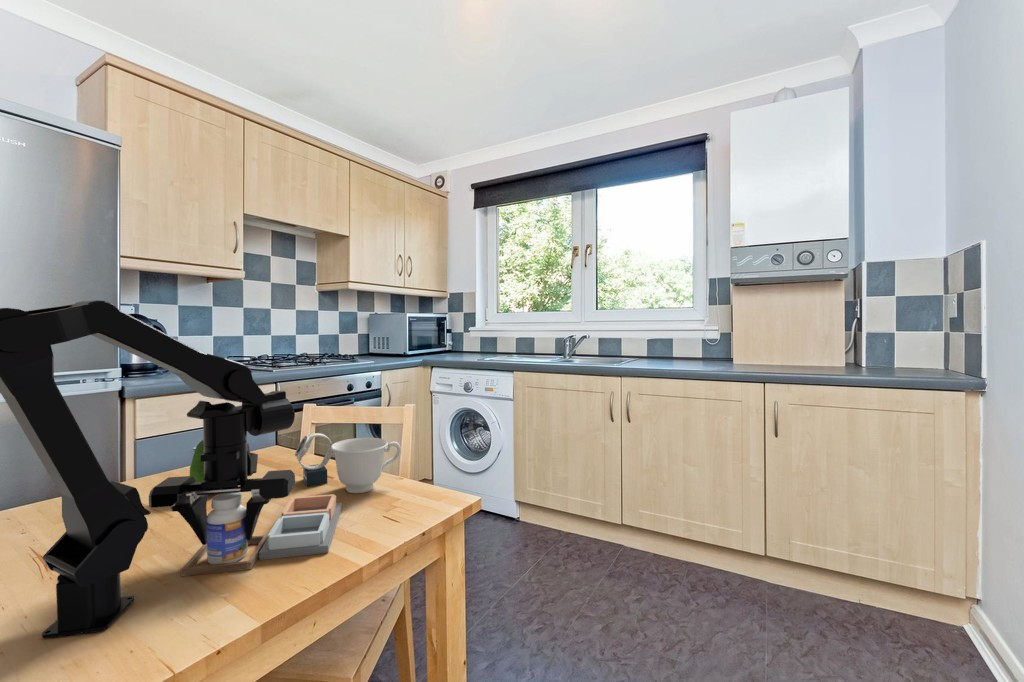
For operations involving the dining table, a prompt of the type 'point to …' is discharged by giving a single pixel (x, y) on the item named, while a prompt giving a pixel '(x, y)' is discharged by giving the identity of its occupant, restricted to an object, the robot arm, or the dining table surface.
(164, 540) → the dining table surface
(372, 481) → the teacup
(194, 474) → the fruit
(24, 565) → the dining table surface
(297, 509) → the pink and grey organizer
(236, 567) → the tray
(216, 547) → the pill bottle
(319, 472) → the watch
